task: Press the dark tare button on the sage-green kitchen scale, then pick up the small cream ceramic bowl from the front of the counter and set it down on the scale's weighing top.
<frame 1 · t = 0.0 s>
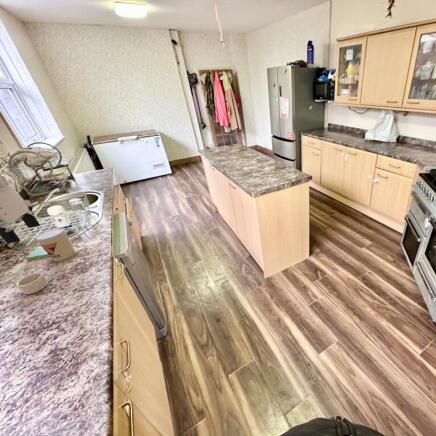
hand: (24, 234, 76), 24 cm above the counter, tool pointing down, fingers open, 9 cm apart
bowl: (36, 288, 88), on the counter
tare button: (56, 240, 110), point 3 cm above the counter, slide at 0.1 cm
scale: (48, 252, 108), on the counter
coffee cup: (64, 256, 105), on the counter
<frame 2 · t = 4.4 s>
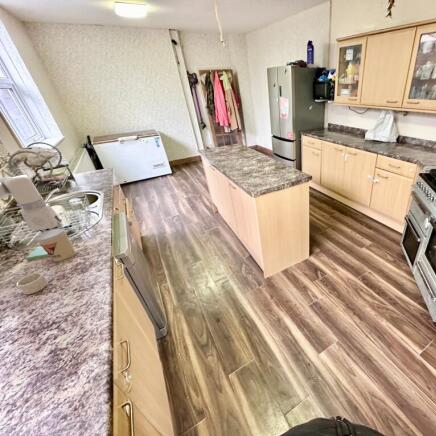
hand: (56, 239, 110), 4 cm above the counter, tool pointing down, fingers closed
tare button: (56, 240, 110), point 3 cm above the counter, slide at 0.1 cm, touching gripper
everything else where it was.
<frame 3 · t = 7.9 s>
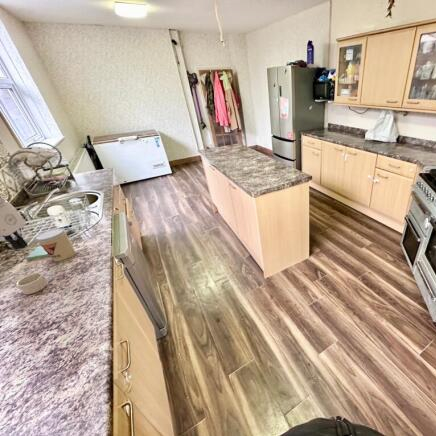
hand: (21, 247, 86), 14 cm above the counter, tool pointing down, fingers closed
tare button: (56, 240, 110), point 3 cm above the counter, slide at 0.1 cm
everything else where it was.
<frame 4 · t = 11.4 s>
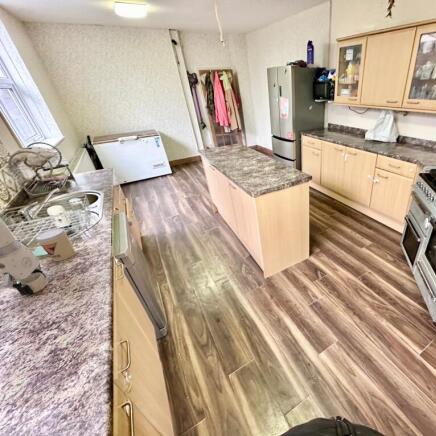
hand: (35, 286, 87), 1 cm above the counter, tool pointing down, fingers closed on bowl, 7 cm apart
bowl: (36, 288, 88), on the counter, touching gripper
everything else where it was.
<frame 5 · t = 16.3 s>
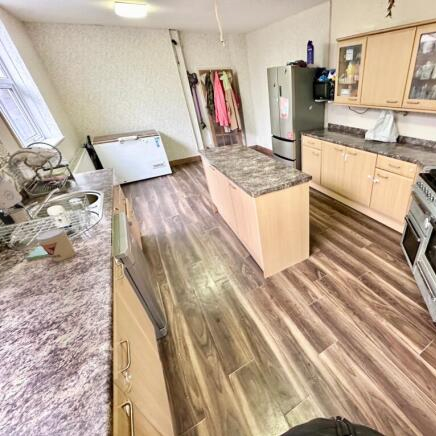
hand: (17, 219, 97), 19 cm above the counter, tool pointing down, fingers closed on bowl, 7 cm apart
bowl: (19, 221, 98), point 18 cm above the counter, touching gripper
everything else where it was.
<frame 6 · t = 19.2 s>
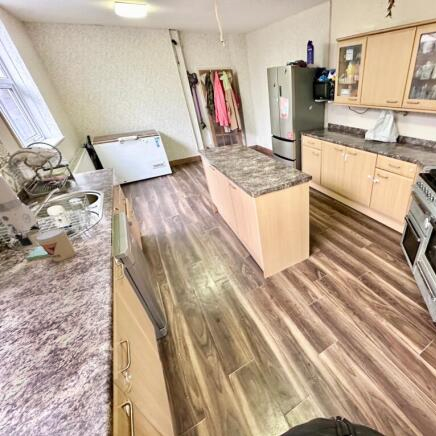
hand: (33, 240, 104), 8 cm above the counter, tool pointing down, fingers closed on bowl, 7 cm apart
bowl: (35, 242, 104), point 7 cm above the counter, touching gripper
everything else where it was.
when the fingers open (2 cm above the counter, at t = 21.3 s): bowl stays where it is, resting on scale.
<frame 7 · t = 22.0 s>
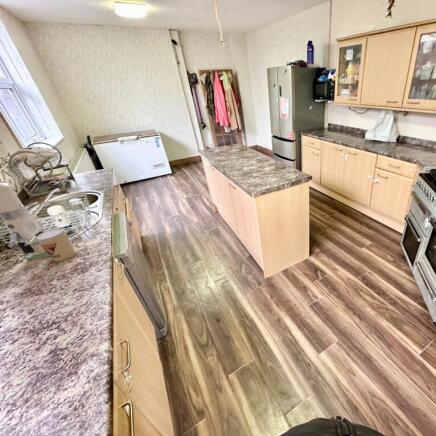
hand: (37, 246, 105), 4 cm above the counter, tool pointing down, fingers open, 9 cm apart
bowl: (41, 251, 107), point 1 cm above the counter, touching scale
everything else where it was.
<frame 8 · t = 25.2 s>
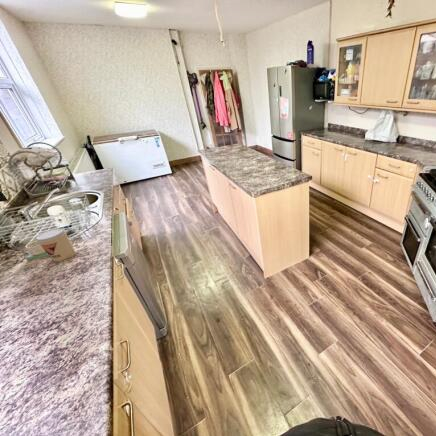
nothing on the counter moved.
at the end: tare button pushed in 0.9 cm at the most during the clip, back to where it started at the end; bowl 0.3 cm from the target spot on the scale, point 1.4 cm above the scale's base; bowl tilted 0° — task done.
